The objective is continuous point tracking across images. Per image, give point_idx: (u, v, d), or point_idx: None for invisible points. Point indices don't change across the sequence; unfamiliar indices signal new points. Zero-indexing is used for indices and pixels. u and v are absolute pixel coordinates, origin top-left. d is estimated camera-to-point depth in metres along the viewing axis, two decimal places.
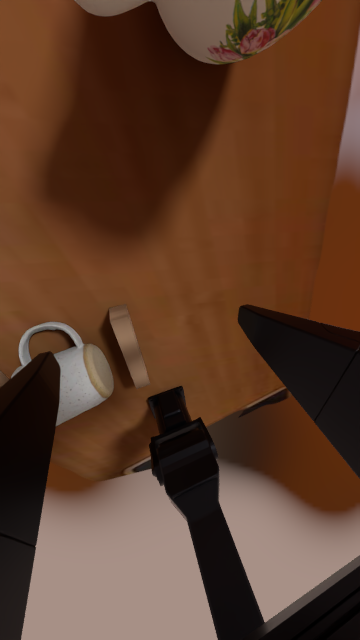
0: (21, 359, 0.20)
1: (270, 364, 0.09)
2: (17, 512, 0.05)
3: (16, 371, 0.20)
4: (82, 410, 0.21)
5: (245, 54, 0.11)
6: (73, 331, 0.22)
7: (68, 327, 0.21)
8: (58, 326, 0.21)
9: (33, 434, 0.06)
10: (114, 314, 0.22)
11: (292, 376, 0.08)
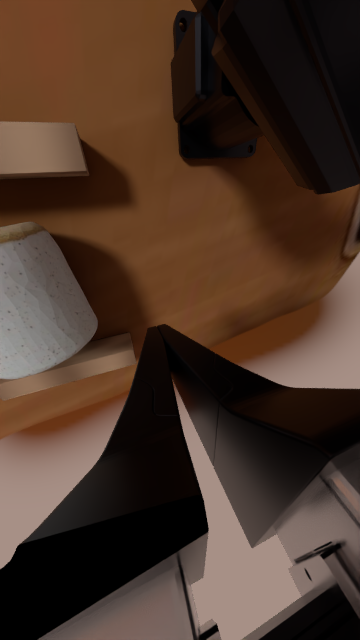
0: None
1: (180, 394, 0.08)
2: None
3: None
4: (13, 298, 0.10)
5: None
6: None
7: None
8: None
9: None
10: None
11: (193, 412, 0.07)
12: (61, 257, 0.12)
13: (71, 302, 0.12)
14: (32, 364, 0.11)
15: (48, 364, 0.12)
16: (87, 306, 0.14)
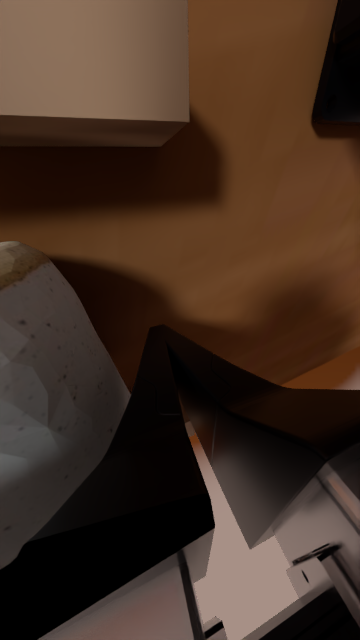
0: None
1: (178, 395, 0.08)
2: None
3: None
4: None
5: None
6: None
7: None
8: None
9: None
10: None
11: (191, 413, 0.07)
12: (81, 317, 0.06)
13: (101, 413, 0.06)
14: None
15: None
16: (123, 394, 0.08)
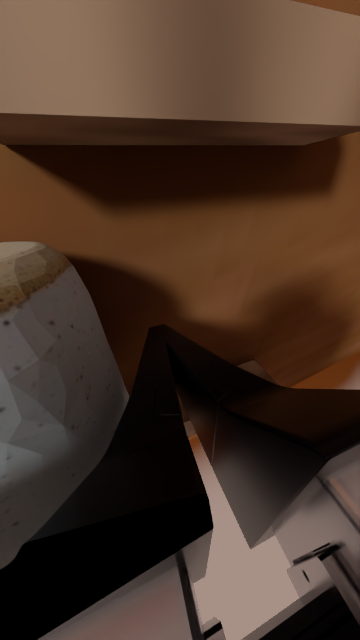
0: None
1: (179, 395, 0.08)
2: None
3: None
4: None
5: None
6: None
7: None
8: None
9: None
10: None
11: (191, 413, 0.07)
12: (96, 320, 0.06)
13: (108, 415, 0.06)
14: None
15: None
16: (125, 396, 0.08)
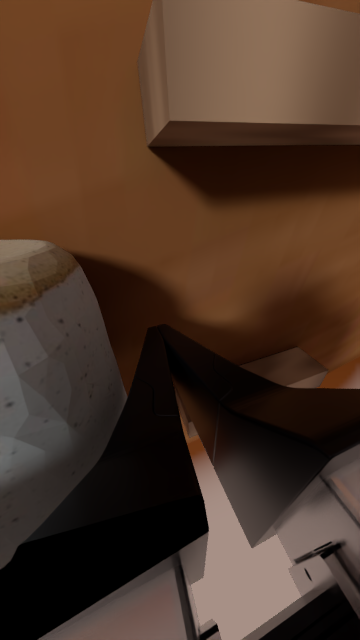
0: None
1: (180, 394, 0.08)
2: None
3: None
4: None
5: None
6: None
7: None
8: None
9: None
10: (156, 107, 0.05)
11: (193, 412, 0.07)
12: (100, 320, 0.06)
13: (108, 414, 0.06)
14: None
15: None
16: (124, 397, 0.08)
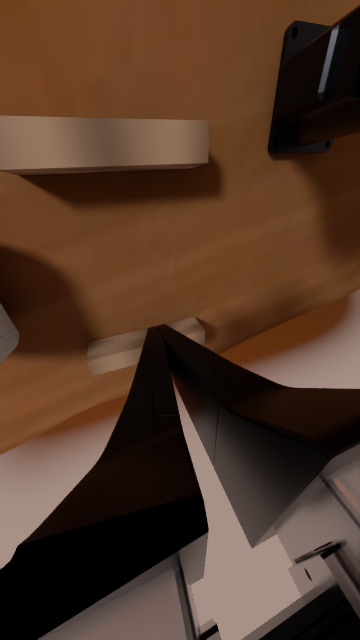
0: None
1: (180, 394, 0.08)
2: None
3: None
4: None
5: None
6: None
7: None
8: None
9: None
10: None
11: (193, 412, 0.07)
12: None
13: None
14: None
15: None
16: (2, 326, 0.13)
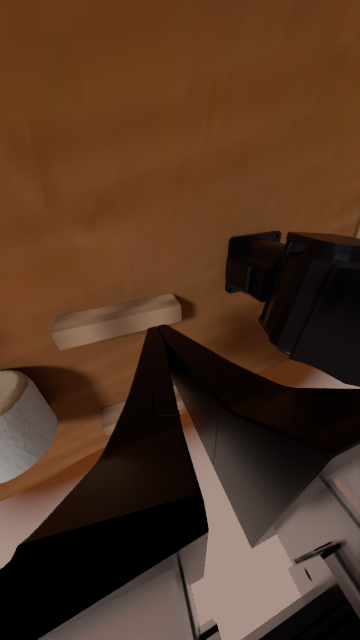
0: None
1: (180, 394, 0.08)
2: None
3: None
4: None
5: None
6: None
7: None
8: None
9: None
10: None
11: (193, 412, 0.07)
12: (35, 400, 0.19)
13: (37, 430, 0.19)
14: (3, 477, 0.17)
15: (14, 475, 0.18)
16: (50, 422, 0.21)
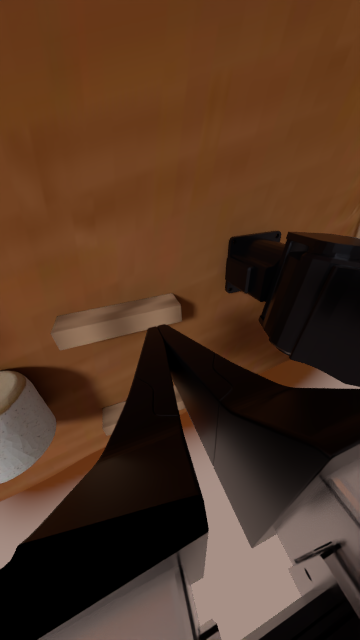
0: None
1: (180, 394, 0.08)
2: None
3: None
4: None
5: None
6: None
7: None
8: None
9: None
10: None
11: (193, 412, 0.07)
12: (33, 401, 0.19)
13: (35, 431, 0.19)
14: (1, 478, 0.17)
15: (13, 476, 0.18)
16: (48, 423, 0.21)
